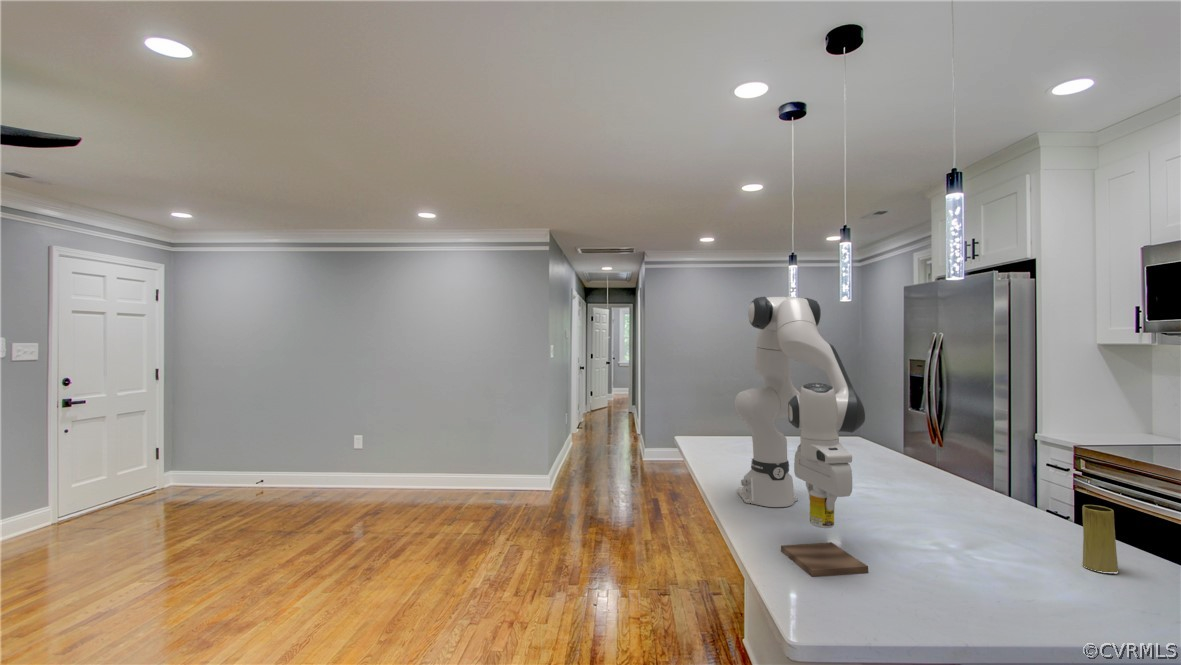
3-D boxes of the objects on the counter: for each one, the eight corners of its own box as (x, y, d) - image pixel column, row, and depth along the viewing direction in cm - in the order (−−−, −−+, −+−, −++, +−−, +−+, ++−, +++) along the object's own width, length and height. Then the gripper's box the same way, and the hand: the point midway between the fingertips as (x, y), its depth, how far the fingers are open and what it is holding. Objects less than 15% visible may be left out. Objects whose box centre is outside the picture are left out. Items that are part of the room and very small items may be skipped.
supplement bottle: (826, 530, 124) (825, 487, 125) (805, 524, 129) (805, 482, 129) (839, 526, 127) (838, 484, 128) (818, 520, 132) (817, 479, 132)
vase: (1076, 566, 123) (1074, 506, 123) (1090, 561, 125) (1088, 502, 126) (1110, 577, 117) (1108, 513, 118) (1124, 571, 120) (1121, 509, 120)
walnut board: (781, 551, 135) (781, 545, 135) (831, 547, 136) (831, 542, 136) (812, 576, 120) (812, 570, 120) (868, 572, 121) (868, 566, 121)
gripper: (787, 442, 139) (788, 493, 138) (831, 458, 118) (833, 519, 118) (809, 441, 139) (810, 492, 139) (856, 456, 119) (859, 517, 119)
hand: (821, 505), depth 128 cm, fingers closed on supplement bottle, 5 cm apart
